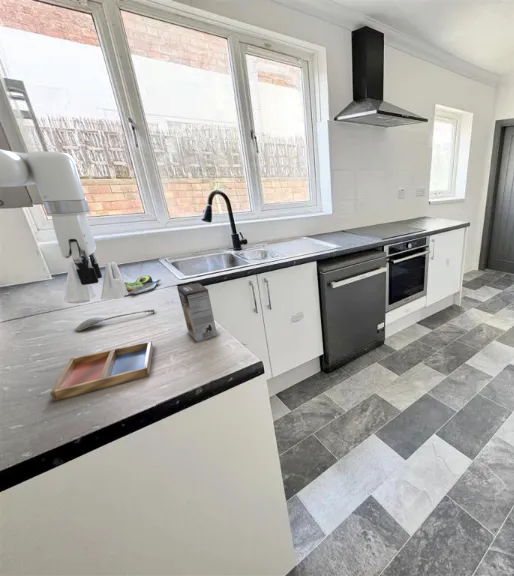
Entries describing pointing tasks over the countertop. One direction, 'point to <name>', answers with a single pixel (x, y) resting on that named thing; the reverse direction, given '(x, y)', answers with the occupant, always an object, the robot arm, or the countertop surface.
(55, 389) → the sorting tray
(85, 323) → the soupspoon
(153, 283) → the avocado toast plate
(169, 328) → the countertop surface
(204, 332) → the coffee box
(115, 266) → the shaker set
